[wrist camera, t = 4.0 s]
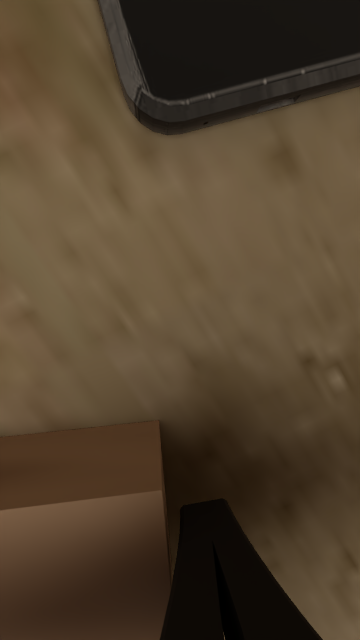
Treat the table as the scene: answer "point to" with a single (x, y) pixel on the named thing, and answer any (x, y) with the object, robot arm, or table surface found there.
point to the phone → (229, 56)
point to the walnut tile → (84, 534)
